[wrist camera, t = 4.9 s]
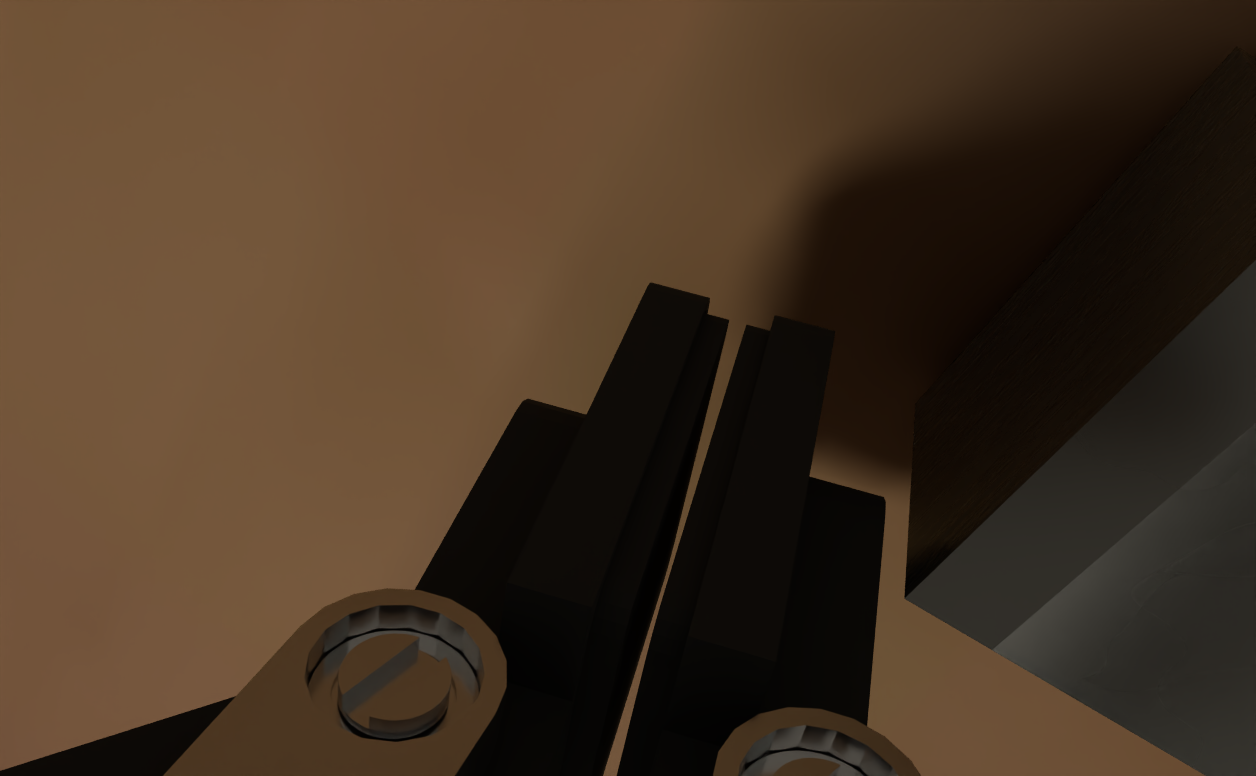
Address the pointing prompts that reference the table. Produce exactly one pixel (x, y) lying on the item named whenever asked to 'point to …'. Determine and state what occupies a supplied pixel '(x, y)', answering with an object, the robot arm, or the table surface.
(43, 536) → the table surface
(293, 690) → the robot arm
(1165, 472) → the jaw
